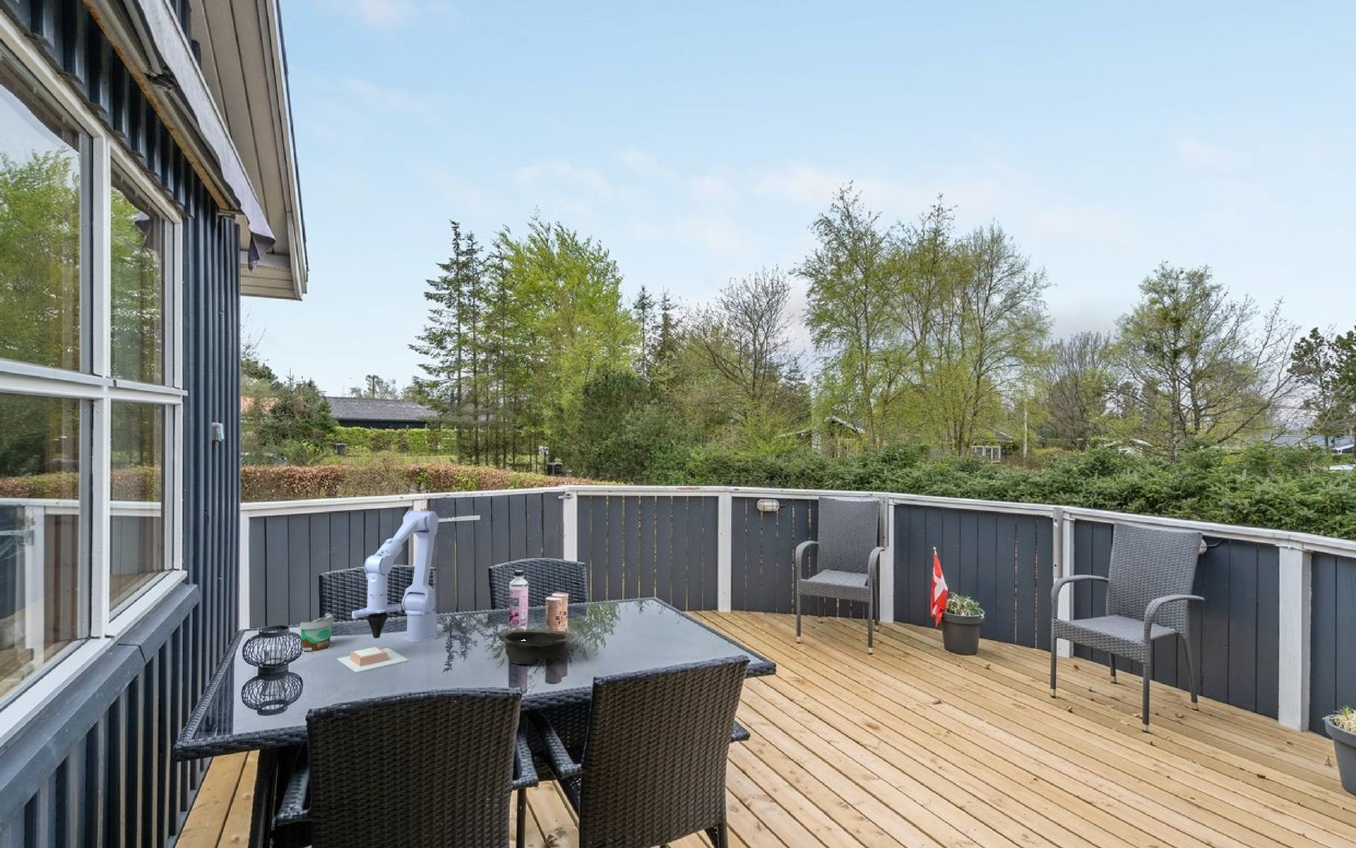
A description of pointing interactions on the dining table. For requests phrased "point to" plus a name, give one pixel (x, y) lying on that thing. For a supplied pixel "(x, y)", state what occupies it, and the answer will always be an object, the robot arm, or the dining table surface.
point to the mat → (391, 660)
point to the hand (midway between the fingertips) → (376, 637)
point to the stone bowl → (534, 645)
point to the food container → (316, 633)
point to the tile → (368, 656)
